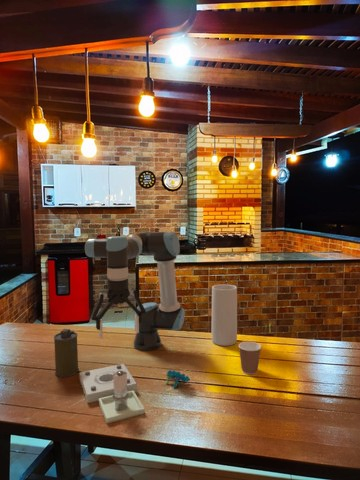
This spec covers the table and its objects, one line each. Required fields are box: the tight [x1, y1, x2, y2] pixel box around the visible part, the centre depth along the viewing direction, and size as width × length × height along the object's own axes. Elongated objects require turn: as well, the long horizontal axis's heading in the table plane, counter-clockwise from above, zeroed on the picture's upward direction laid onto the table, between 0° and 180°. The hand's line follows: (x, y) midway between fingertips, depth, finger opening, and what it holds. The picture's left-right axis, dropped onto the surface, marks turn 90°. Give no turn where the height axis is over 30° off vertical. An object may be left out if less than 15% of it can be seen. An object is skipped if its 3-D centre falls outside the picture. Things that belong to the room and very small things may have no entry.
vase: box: [210, 283, 238, 347], centre depth 192 cm, size 14×14×32 cm
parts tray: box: [98, 391, 145, 425], centre depth 129 cm, size 14×14×2 cm
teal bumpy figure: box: [165, 369, 190, 389], centre depth 146 cm, size 11×6×10 cm
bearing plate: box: [79, 363, 138, 404], centre depth 146 cm, size 20×20×4 cm
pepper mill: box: [113, 371, 129, 411], centre depth 129 cm, size 6×6×14 cm
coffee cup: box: [238, 341, 262, 375], centre depth 158 cm, size 10×10×12 cm
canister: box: [53, 328, 80, 378], centre depth 158 cm, size 11×10×20 cm
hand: (119, 334), depth 127 cm, fingers open, 13 cm apart
